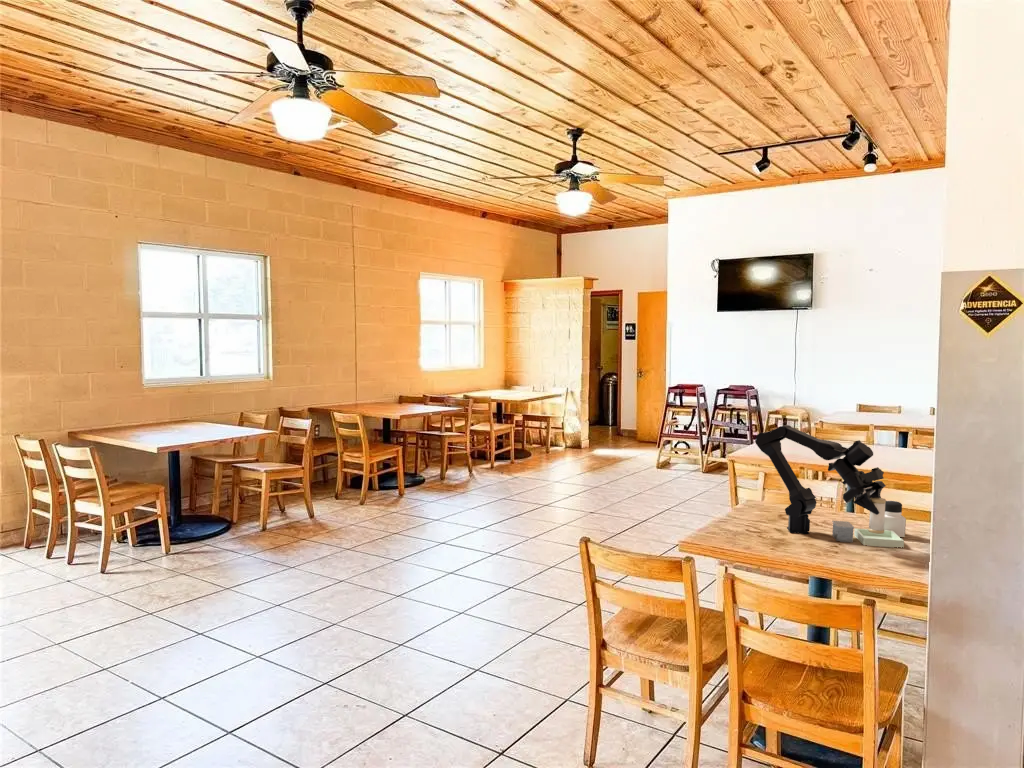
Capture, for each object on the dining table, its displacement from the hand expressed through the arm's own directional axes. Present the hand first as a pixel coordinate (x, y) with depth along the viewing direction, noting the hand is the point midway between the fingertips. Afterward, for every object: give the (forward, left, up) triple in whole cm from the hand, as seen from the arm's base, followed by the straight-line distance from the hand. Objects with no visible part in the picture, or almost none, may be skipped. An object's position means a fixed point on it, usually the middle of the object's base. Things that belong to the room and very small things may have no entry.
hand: (881, 512), depth 234 cm
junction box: (-9, +12, -13) cm, 20 cm away
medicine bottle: (+10, +23, -13) cm, 28 cm away
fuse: (-1, +1, -7) cm, 7 cm away
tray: (+3, +12, -13) cm, 18 cm away
